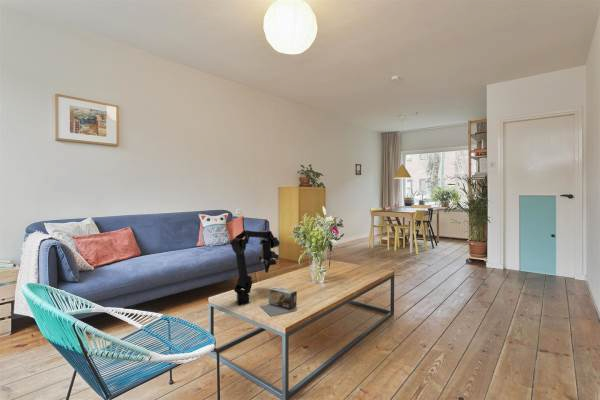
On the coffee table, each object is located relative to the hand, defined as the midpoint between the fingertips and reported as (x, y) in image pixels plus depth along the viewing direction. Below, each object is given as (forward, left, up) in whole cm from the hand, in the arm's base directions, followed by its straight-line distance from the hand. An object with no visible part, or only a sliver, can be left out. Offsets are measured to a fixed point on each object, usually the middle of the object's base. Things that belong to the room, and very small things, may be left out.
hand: (266, 272), depth 201 cm
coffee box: (-5, -19, -8) cm, 21 cm away
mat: (-5, -29, -13) cm, 32 cm away
